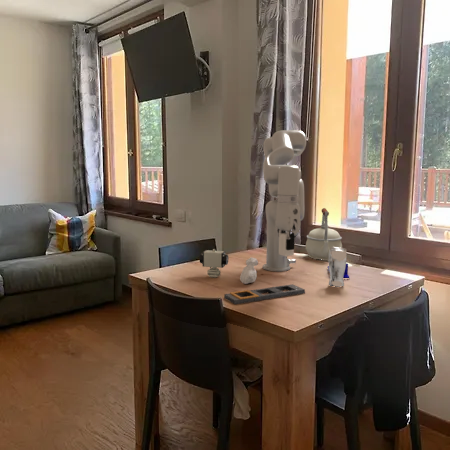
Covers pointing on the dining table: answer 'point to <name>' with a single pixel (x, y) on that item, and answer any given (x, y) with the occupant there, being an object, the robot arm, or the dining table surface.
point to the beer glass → (337, 266)
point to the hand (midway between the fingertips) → (286, 248)
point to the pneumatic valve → (214, 261)
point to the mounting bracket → (344, 272)
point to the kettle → (322, 240)
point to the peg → (284, 245)
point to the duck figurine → (249, 271)
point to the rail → (257, 294)
